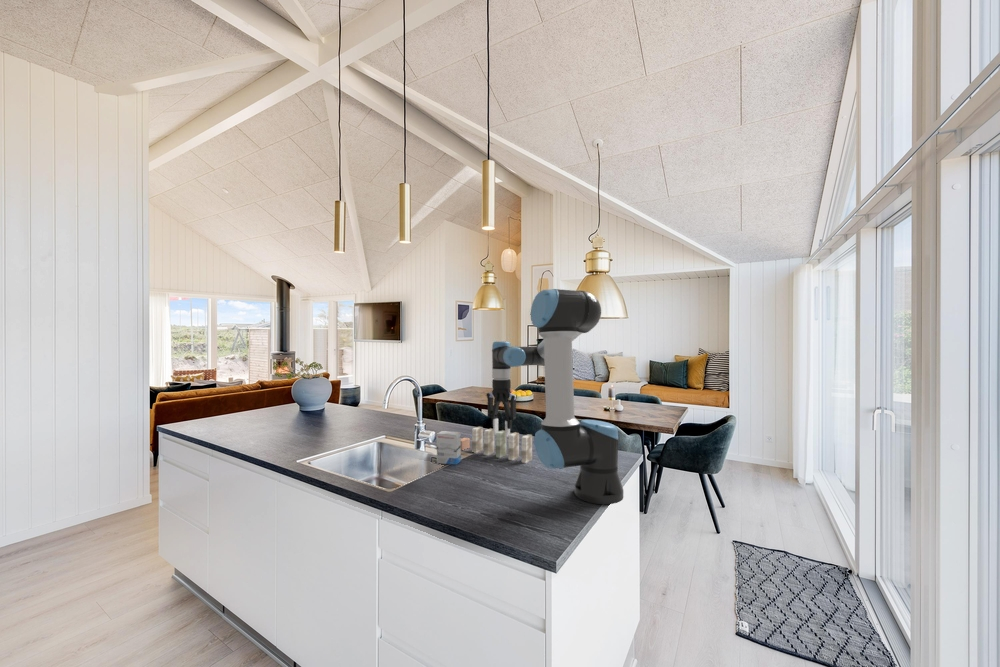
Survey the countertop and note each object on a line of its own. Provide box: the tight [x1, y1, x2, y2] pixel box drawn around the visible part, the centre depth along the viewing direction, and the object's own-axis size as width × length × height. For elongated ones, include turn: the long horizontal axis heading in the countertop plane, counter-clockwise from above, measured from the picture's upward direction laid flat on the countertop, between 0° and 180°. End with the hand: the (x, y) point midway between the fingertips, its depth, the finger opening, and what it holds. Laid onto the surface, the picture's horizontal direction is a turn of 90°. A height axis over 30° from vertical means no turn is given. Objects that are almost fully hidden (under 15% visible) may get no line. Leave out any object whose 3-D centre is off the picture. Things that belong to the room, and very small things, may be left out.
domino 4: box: [508, 431, 520, 462], centre depth 167 cm, size 5×2×10 cm, turn 148°
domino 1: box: [471, 426, 484, 454], centre depth 177 cm, size 5×2×10 cm, turn 148°
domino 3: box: [495, 429, 507, 459], centre depth 170 cm, size 5×2×10 cm, turn 148°
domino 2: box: [483, 427, 495, 456], centre depth 173 cm, size 5×2×10 cm, turn 148°
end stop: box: [461, 437, 471, 451], centre depth 181 cm, size 6×3×4 cm, turn 148°
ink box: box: [435, 430, 462, 466], centre depth 162 cm, size 9×5×12 cm, turn 73°
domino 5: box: [521, 434, 533, 464], centre depth 164 cm, size 5×2×10 cm, turn 148°
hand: (501, 435), depth 170 cm, fingers open, 5 cm apart
